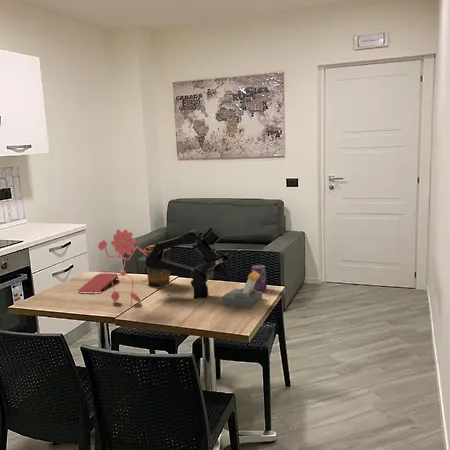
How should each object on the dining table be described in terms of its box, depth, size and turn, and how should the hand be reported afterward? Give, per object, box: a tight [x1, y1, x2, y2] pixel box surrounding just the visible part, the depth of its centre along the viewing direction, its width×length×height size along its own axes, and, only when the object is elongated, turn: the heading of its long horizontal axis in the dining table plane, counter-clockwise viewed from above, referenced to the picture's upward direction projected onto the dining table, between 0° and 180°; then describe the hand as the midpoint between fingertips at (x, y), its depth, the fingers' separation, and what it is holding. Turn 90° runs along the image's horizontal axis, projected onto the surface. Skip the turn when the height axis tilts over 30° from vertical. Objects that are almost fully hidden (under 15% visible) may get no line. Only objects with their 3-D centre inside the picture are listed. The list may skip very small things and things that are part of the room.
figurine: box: [97, 229, 148, 307], centre depth 227 cm, size 15×26×35 cm, turn 73°
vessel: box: [143, 245, 172, 289], centre depth 254 cm, size 14×14×20 cm
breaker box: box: [220, 287, 263, 309], centre depth 222 cm, size 14×14×5 cm
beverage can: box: [251, 264, 267, 292], centre depth 237 cm, size 7×7×12 cm
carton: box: [77, 272, 119, 293], centre depth 257 cm, size 12×5×25 cm
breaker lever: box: [242, 271, 260, 294], centre depth 218 cm, size 3×6×10 cm, turn 151°
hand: (228, 276), depth 224 cm, fingers closed
